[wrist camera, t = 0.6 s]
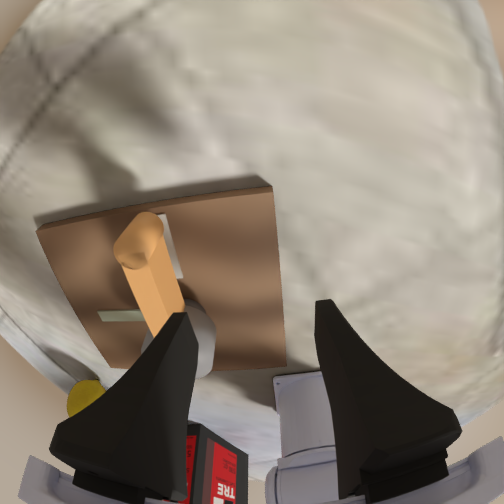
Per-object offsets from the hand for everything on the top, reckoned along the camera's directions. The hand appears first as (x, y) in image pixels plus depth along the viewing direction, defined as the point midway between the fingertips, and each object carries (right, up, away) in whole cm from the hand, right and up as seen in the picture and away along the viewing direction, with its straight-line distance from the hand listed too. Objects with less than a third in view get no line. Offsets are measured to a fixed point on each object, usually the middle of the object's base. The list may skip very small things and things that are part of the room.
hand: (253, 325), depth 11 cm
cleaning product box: (-8, -30, +29) cm, 43 cm away
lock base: (-7, -1, +12) cm, 14 cm away
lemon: (-21, -14, +20) cm, 32 cm away
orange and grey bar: (-6, 0, +7) cm, 9 cm away
